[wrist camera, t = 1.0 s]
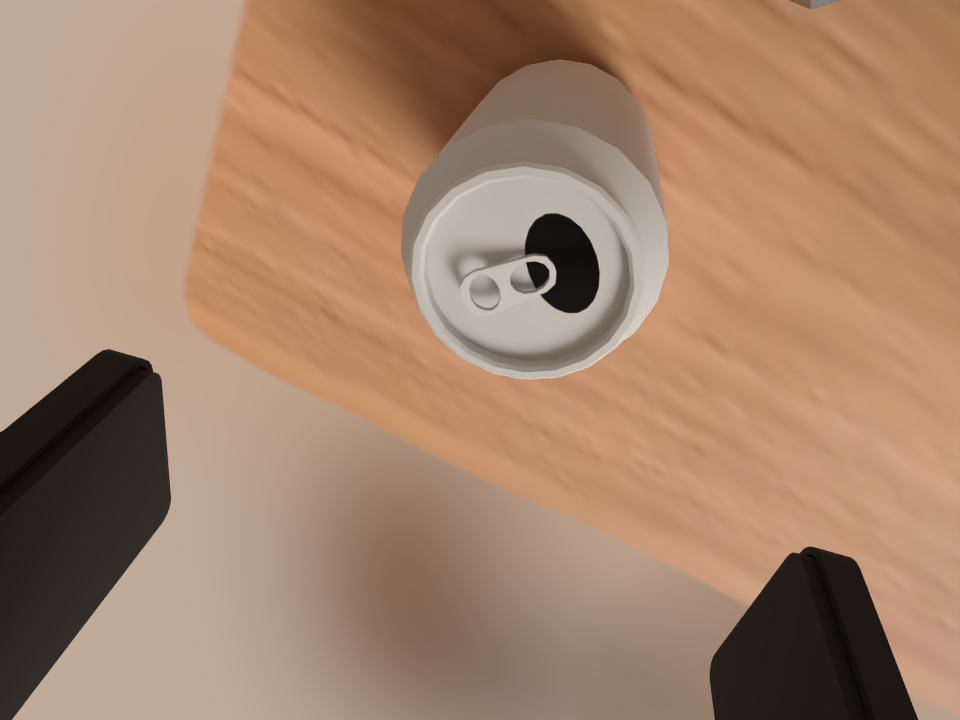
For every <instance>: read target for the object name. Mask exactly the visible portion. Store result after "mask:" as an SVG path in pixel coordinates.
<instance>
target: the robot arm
mask: <svg viewBox="0 0 960 720" xmlns="http://www.w3.org/2000/svg"><path fill="white" fill-rule="evenodd" d="M170 502H171V493H170V481H169V469H168V455H167V444H166V431H165V418H164V405H163V394H162V382H161V377H160V375H159V374H157V373H154V372H153V369H152V365H151V364H150V362H149V361H147V360H145V359H142V358H138V357H135V356H131V355H127V354H124V353H120V352H117V351H113V350H110V349H108V350H103V351H101V352H100V353H98V354H97V355H95V356H94V357H93V358H92V359H90V360H89V361H88V362H87V363H86V364H85V365H83V366H82V367H81V368H80V369H78V370H77V371H76V372H75V373H73V374H72V375H71V376H70V377H68V378H67V379H66V380H65V381H64V382H62V383H61V384H60V385H59V386H58V387H56V388H55V389H54V390H53V391H51V392H50V393H49V394H48V395H46V396H45V397H44V398H43V399H42V400H40V401H39V402H38V403H37V404H35V405H34V406H33V407H32V408H31V409H29V410H28V411H27V412H26V413H25V414H23V415H22V416H21V417H19V418H18V419H17V420H16V421H15V422H13V423H12V424H11V425H10V426H8V427H7V428H6V429H5V430H3V431H2V432H0V720H12V719H13V717H14V716H15V715H16V713H17V712H18V711H19V710H20V708H21V707H22V706H23V704H24V703H25V702H26V700H27V699H28V698H29V696H30V695H31V694H32V692H33V691H34V690H35V689H36V687H37V686H38V685H39V683H40V682H41V681H42V679H43V678H44V677H45V676H46V674H47V673H48V672H49V670H50V669H51V668H52V666H53V665H54V664H55V662H56V661H57V660H58V659H59V657H60V656H61V655H62V653H63V652H64V651H65V649H66V648H67V647H68V645H69V644H70V643H71V642H72V640H73V639H74V638H75V636H76V635H77V634H78V632H79V631H80V630H81V628H82V627H83V626H84V624H85V623H86V622H87V621H88V619H89V618H90V616H91V615H92V614H93V613H94V611H95V610H96V609H97V607H98V606H99V605H100V604H101V602H102V601H103V600H104V598H105V597H106V596H107V594H108V593H109V592H110V591H111V589H112V588H113V587H114V585H115V584H116V583H117V581H118V580H119V579H120V577H121V576H122V575H123V574H124V572H125V571H126V570H127V568H128V567H129V566H130V564H131V563H132V562H133V560H134V559H135V558H136V557H137V555H138V554H139V552H140V551H141V550H142V549H143V547H144V546H145V545H146V543H147V542H148V541H149V539H150V538H151V537H152V535H153V534H154V533H155V532H156V530H157V529H158V528H159V526H160V525H161V524H162V522H163V521H164V519H165V517H166V515H167V513H168V510H169V507H170ZM710 685H711V693H712V701H713V708H714V717H715V720H918V718H917V715H916V713H915V710H914V708H913V705H912V702H911V700H910V697H909V695H908V692H907V689H906V687H905V684H904V682H903V679H902V676H901V674H900V671H899V669H898V666H897V664H896V661H895V658H894V656H893V653H892V651H891V648H890V645H889V643H888V640H887V638H886V635H885V632H884V630H883V627H882V625H881V622H880V619H879V617H878V614H877V612H876V609H875V606H874V604H873V601H872V599H871V596H870V593H869V591H868V588H867V586H866V583H865V580H864V578H863V575H862V573H861V570H860V568H859V566H858V564H857V562H856V561H855V560H853V559H852V558H850V557H847V556H843V555H840V554H836V553H833V552H829V551H825V550H822V549H818V548H815V547H807V548H804V549H803V550H802V551H801V552H800V553H799V554H798V553H791V554H790V555H789V556H788V557H787V558H786V559H785V560H784V562H783V563H782V564H781V566H780V567H779V568H778V570H777V571H776V572H775V574H774V575H773V576H772V578H771V579H770V580H769V582H768V583H767V584H766V586H765V587H764V588H763V590H762V591H761V593H760V594H759V595H758V597H757V598H756V599H755V601H754V602H753V603H752V605H751V606H750V607H749V609H748V610H747V611H746V613H745V614H744V616H743V617H742V618H741V619H740V621H739V622H738V623H737V625H736V626H735V627H734V629H733V630H732V632H731V633H730V634H729V636H728V637H727V639H726V640H725V641H724V642H723V644H722V645H721V646H720V648H719V649H718V650H717V652H716V653H715V655H714V657H713V659H712V662H711V667H710Z"/></svg>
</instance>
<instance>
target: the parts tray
mask: <svg viewBox="0 0 960 720" xmlns="http://www.w3.org/2000/svg"><path fill="white" fill-rule="evenodd" d="M790 1H791V2H794V3H796V4H799V5H801V6H804V7H807V8H809V9H814V8H817V7H820V6H824V5H827V4H830V3H833V2H837V1H840V0H790Z"/></svg>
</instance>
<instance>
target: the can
mask: <svg viewBox="0 0 960 720" xmlns="http://www.w3.org/2000/svg"><path fill="white" fill-rule="evenodd" d="M401 256H402V259H403V263H404V267H405V270H406V274H407V278H408V281H409V285H410V289H411V291H412V293H413V294H414V297H415V300H416V304H417V308H418V309H419V311H420V313H421V314H422V316H423V317H424V319H425V320H426V322H427V324H428V325H429V327H430V328H431V330H432V331H433V333H434V334H435V336H436V337H437V338H438V339H440V340H441V341H442V342H443V343H444V344H445V345H446V346H447V347H449V348H450V349H451V350H452V351H453V352H454V353H455V354H457V355H458V356H459V357H460V358H462V359H464V360H466V361H468V362H470V363H472V364H474V365H476V366H478V367H480V368H482V369H484V370H486V371H488V372H490V373H494V374H499V375H504V376H509V377H514V378H519V379H524V380H526V379H542V378H557V377H561V376H564V375H567V374H570V373H573V372H575V371H578V370H581V369H584V368H587V367H590V366H591V365H593V364H594V363H596V362H597V361H598V360H600V359H601V358H602V357H604V356H605V355H607V354H608V353H609V352H611V351H612V350H613V349H615V348H616V347H618V345H619V344H620V343H621V342H622V341H624V340H625V339H626V338H628V337H629V336H631V335H632V334H633V333H635V331H636V330H637V328H638V327H639V326H640V324H641V323H642V322H643V320H644V319H645V317H646V316H647V315H648V313H649V312H650V311H651V309H652V308H653V307H654V305H655V304H656V302H657V300H658V297H659V294H660V291H661V287H662V284H663V281H664V278H665V274H666V271H667V268H668V265H669V258H668V238H667V221H666V215H665V209H664V203H663V197H662V191H661V185H660V179H659V174H658V168H657V162H656V156H655V150H654V144H653V138H652V132H651V130H650V127H649V125H648V122H647V120H646V117H645V115H644V113H643V110H642V108H641V105H640V103H639V102H638V101H637V100H636V99H635V97H634V96H633V95H632V94H631V93H630V92H629V91H628V90H627V88H626V87H625V86H624V85H623V84H622V83H621V82H620V80H619V79H617V78H615V77H613V76H611V75H609V74H608V73H606V72H604V71H602V70H600V69H599V68H597V67H595V66H593V65H591V64H586V63H580V62H574V61H568V60H561V59H557V60H551V61H546V62H540V63H535V64H529V65H526V66H525V67H523V68H521V69H519V70H517V71H516V72H514V73H512V74H510V75H509V76H507V77H505V78H503V79H502V80H500V81H499V82H498V83H497V84H496V85H495V86H494V88H493V89H492V90H491V91H490V92H489V93H488V94H487V95H486V96H485V98H484V99H483V100H482V101H481V102H480V103H479V104H478V105H477V107H476V108H475V109H474V110H473V112H472V113H471V114H470V115H469V117H468V118H467V119H466V120H465V122H464V123H463V124H462V125H461V126H460V128H459V129H458V130H457V131H456V133H455V134H454V135H453V136H452V138H451V139H450V140H449V141H448V143H447V144H446V145H445V146H444V148H443V149H442V150H441V151H440V152H439V154H438V155H437V156H436V157H435V159H434V160H433V161H432V162H431V164H430V165H429V166H428V167H427V169H426V170H425V171H424V172H423V173H422V175H421V176H420V177H419V178H418V181H417V183H416V185H415V188H414V190H413V193H412V195H411V198H410V200H409V202H408V205H407V207H406V210H405V212H404V214H403V227H402V245H401Z"/></svg>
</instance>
